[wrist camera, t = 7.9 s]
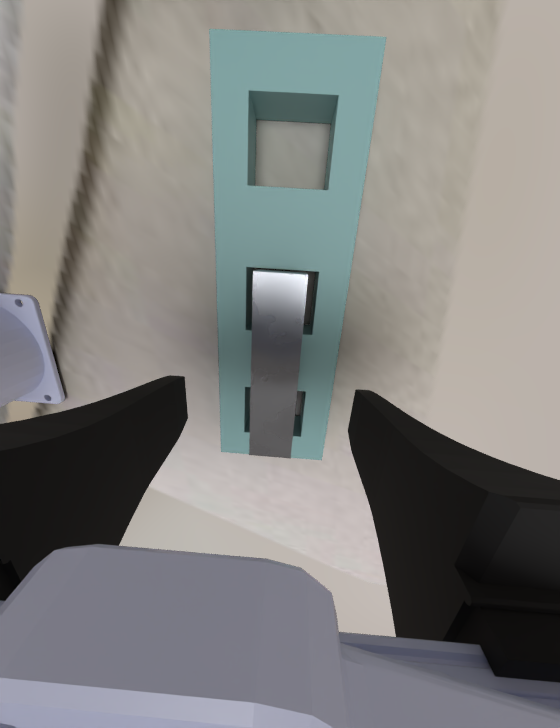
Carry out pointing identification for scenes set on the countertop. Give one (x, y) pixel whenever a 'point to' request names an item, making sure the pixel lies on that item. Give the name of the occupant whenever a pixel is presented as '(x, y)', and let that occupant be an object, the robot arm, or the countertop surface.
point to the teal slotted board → (287, 204)
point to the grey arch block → (275, 359)
